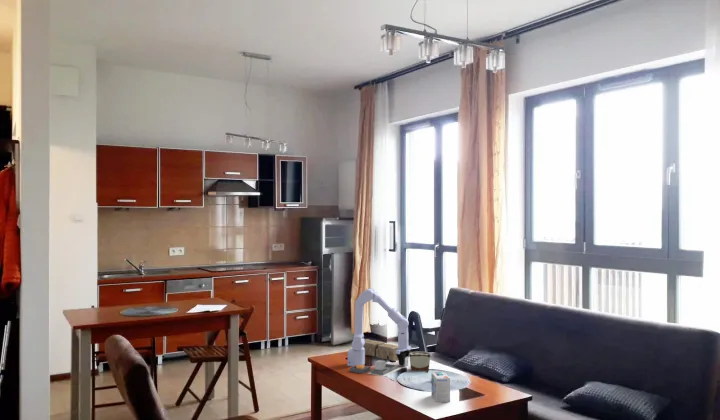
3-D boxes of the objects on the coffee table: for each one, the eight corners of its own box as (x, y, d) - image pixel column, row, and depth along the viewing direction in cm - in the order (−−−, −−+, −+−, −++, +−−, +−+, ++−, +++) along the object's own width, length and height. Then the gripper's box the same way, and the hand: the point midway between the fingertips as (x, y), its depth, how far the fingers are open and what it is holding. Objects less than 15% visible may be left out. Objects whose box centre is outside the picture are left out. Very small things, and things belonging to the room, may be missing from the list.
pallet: (366, 375, 300) (366, 370, 300) (383, 367, 316) (383, 362, 316) (385, 378, 294) (385, 373, 294) (401, 369, 310) (401, 365, 310)
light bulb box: (431, 395, 264) (430, 372, 265) (445, 394, 265) (445, 371, 265) (436, 402, 254) (435, 378, 254) (450, 402, 254) (450, 377, 254)
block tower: (402, 360, 336) (368, 351, 357) (402, 346, 336) (368, 338, 357) (393, 363, 330) (359, 353, 352) (393, 348, 331) (359, 339, 352)
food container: (431, 369, 311) (430, 351, 311) (431, 372, 305) (431, 353, 305) (408, 369, 312) (408, 351, 312) (408, 372, 306) (408, 353, 306)
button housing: (350, 373, 303) (350, 367, 303) (357, 370, 310) (357, 364, 310) (362, 375, 299) (362, 369, 299) (370, 372, 306) (370, 366, 306)
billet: (398, 367, 315) (398, 357, 315) (401, 366, 318) (401, 355, 319) (405, 368, 313) (405, 357, 313) (408, 367, 316) (408, 356, 317)
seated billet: (375, 372, 300) (375, 361, 301) (378, 371, 304) (378, 360, 304) (381, 373, 298) (381, 362, 298) (385, 372, 302) (385, 360, 302)
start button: (354, 371, 304) (354, 365, 304) (358, 369, 308) (358, 364, 308) (361, 372, 302) (361, 366, 302) (365, 370, 305) (365, 365, 305)
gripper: (403, 343, 308) (404, 368, 307) (415, 338, 320) (415, 362, 320) (392, 341, 311) (392, 366, 311) (404, 337, 324) (404, 361, 324)
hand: (403, 364), depth 316 cm, fingers closed on billet, 4 cm apart
